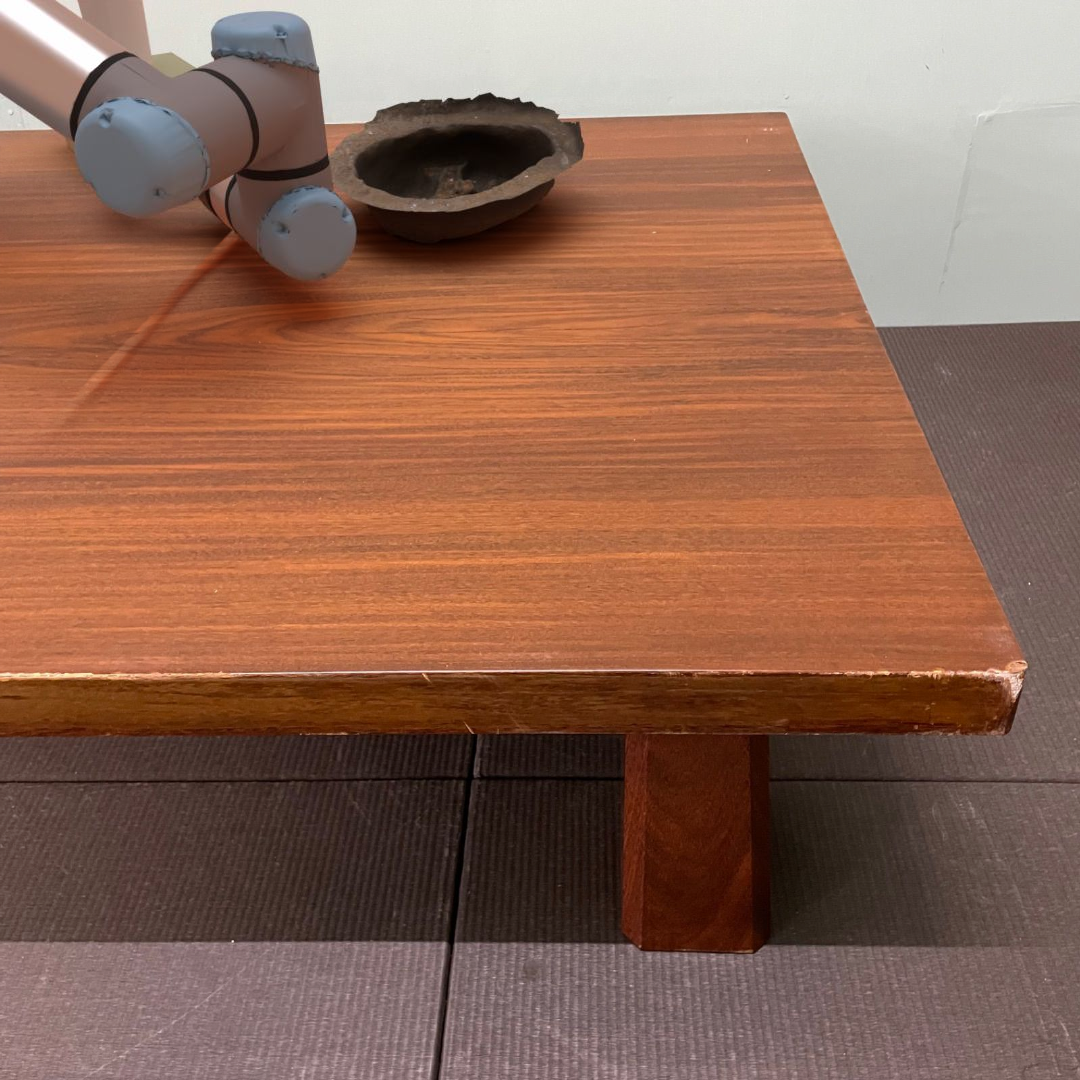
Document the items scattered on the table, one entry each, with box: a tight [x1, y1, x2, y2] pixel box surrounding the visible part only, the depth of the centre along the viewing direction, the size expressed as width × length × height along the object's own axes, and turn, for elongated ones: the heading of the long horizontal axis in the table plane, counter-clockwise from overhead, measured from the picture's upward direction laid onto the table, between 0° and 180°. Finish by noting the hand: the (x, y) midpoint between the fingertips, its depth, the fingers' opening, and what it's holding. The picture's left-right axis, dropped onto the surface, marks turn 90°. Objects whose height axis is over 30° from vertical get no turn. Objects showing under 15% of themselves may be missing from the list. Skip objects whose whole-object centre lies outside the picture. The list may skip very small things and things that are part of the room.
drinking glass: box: [77, 0, 153, 66], centre depth 122 cm, size 7×7×10 cm
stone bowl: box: [328, 91, 585, 245], centre depth 113 cm, size 25×25×9 cm
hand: (173, 130), depth 117 cm, fingers closed on drawer, 13 cm apart
